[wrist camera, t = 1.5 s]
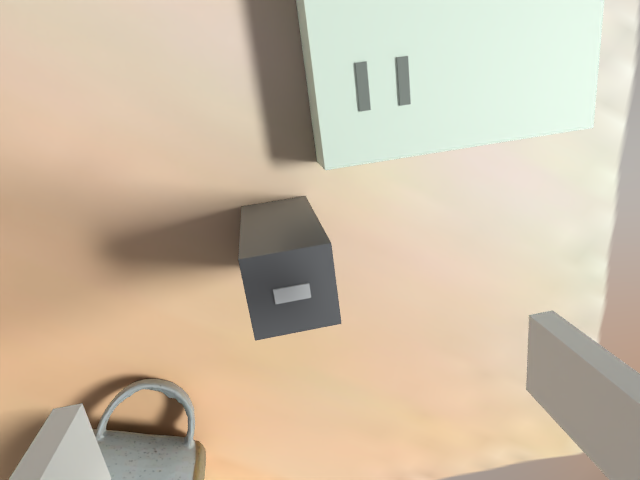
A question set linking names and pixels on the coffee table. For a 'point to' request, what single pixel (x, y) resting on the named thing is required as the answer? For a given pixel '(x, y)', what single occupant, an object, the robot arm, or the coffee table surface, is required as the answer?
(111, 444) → the ceramic mug
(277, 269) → the charger block
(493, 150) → the coffee table surface
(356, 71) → the outlet plate
